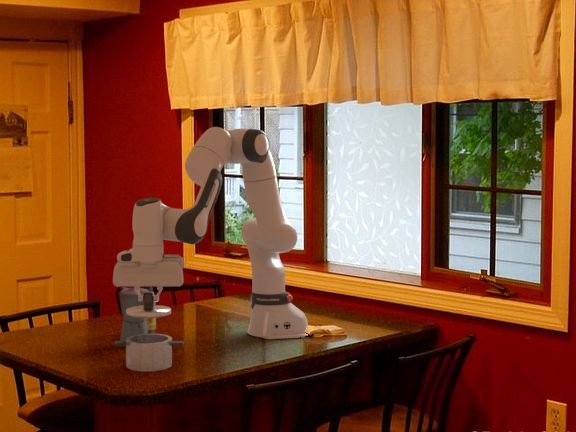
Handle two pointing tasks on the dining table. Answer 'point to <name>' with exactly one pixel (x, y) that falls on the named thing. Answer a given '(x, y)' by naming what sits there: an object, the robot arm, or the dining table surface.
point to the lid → (148, 308)
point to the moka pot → (130, 323)
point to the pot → (148, 351)
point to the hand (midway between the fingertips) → (148, 301)
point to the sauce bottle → (150, 321)
